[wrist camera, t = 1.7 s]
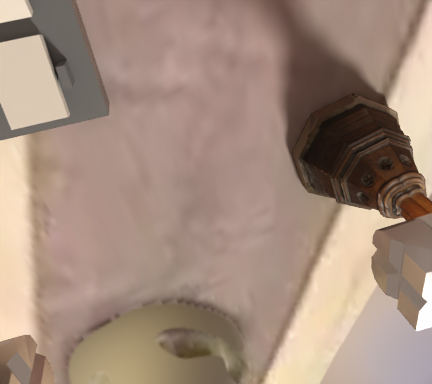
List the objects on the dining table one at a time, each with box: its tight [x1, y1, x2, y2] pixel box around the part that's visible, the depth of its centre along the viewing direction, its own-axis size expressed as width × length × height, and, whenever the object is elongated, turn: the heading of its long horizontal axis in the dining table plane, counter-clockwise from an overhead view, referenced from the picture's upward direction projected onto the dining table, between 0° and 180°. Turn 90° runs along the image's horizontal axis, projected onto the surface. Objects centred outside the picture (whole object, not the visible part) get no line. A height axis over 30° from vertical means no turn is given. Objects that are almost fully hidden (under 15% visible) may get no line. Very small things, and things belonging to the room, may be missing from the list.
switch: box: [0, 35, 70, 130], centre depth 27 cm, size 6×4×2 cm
